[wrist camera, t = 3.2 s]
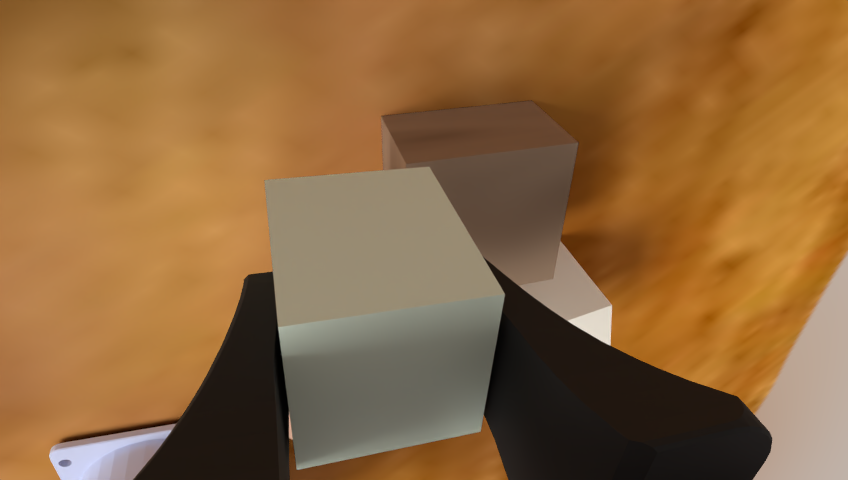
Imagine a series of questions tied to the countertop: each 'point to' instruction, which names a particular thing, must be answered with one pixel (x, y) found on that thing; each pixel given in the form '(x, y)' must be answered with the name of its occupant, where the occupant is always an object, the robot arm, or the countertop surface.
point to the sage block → (378, 313)
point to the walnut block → (494, 177)
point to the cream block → (574, 297)
